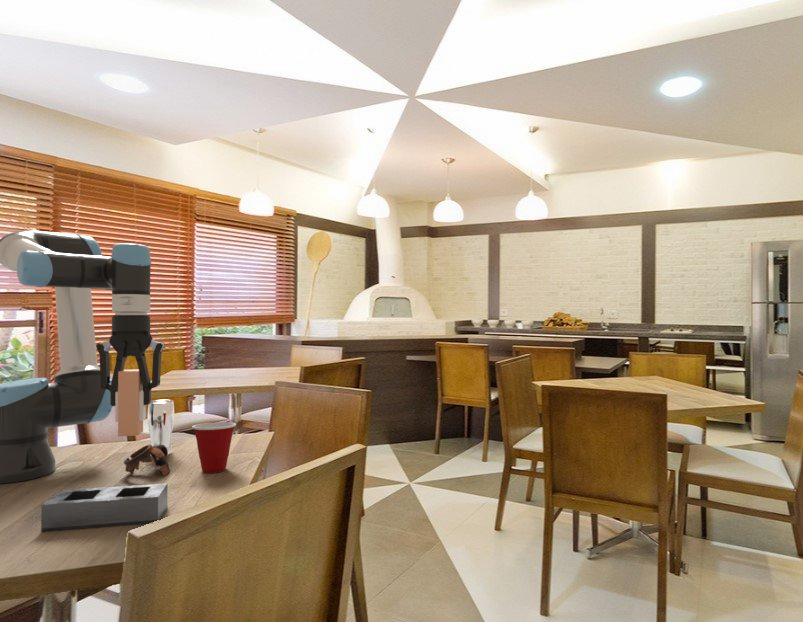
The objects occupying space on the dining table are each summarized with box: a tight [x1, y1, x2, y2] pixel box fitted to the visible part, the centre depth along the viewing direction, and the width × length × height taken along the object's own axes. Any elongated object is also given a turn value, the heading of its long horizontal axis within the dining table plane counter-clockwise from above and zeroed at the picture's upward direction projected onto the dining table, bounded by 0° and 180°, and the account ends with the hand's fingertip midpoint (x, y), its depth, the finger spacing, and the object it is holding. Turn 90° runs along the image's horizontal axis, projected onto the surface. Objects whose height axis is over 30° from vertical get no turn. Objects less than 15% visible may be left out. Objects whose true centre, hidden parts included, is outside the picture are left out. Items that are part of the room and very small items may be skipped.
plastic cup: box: [191, 421, 237, 474], centre depth 132 cm, size 11×11×12 cm
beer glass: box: [147, 399, 175, 456], centre depth 147 cm, size 7×7×15 cm
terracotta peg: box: [117, 368, 144, 437], centre depth 113 cm, size 4×4×14 cm
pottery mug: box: [123, 443, 171, 477], centre depth 130 cm, size 12×10×8 cm
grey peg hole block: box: [40, 482, 168, 533], centre depth 101 cm, size 20×8×5 cm, turn 103°
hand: (130, 419), depth 113 cm, fingers closed on terracotta peg, 4 cm apart
